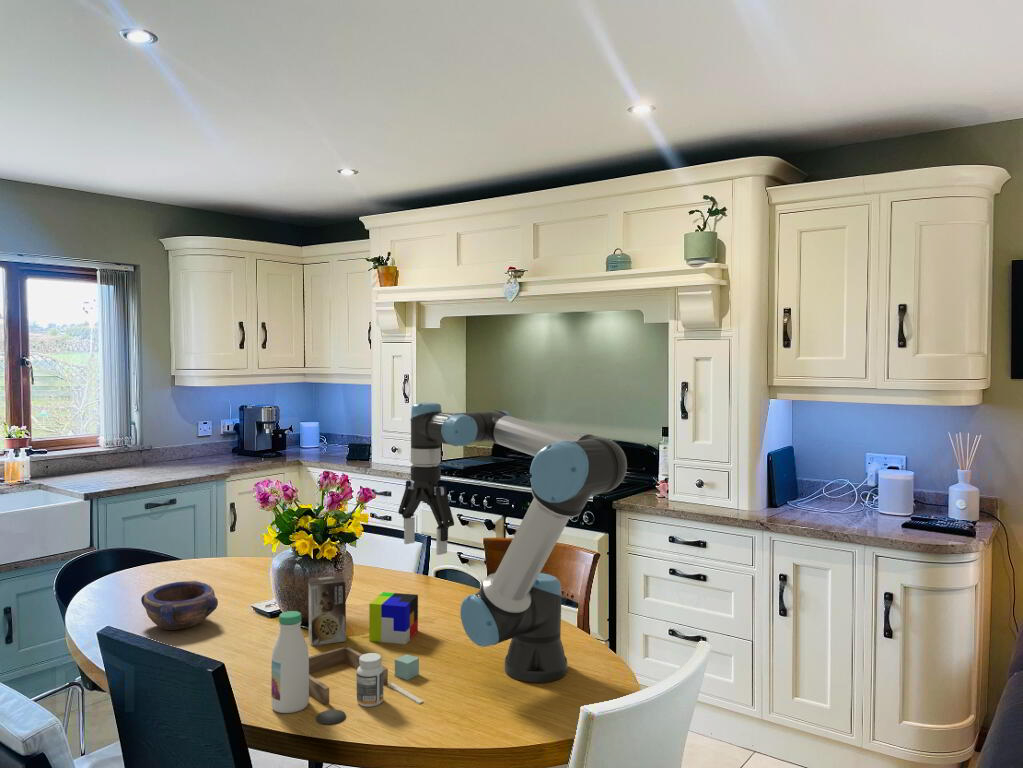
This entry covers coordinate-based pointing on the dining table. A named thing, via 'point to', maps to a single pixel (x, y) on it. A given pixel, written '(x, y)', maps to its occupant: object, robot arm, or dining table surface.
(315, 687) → the cubby
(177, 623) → the bowl
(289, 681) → the milk bottle
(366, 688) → the pill bottle
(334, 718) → the drain disc
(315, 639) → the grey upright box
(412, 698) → the strip
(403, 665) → the teal block
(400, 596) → the puzzle toy
